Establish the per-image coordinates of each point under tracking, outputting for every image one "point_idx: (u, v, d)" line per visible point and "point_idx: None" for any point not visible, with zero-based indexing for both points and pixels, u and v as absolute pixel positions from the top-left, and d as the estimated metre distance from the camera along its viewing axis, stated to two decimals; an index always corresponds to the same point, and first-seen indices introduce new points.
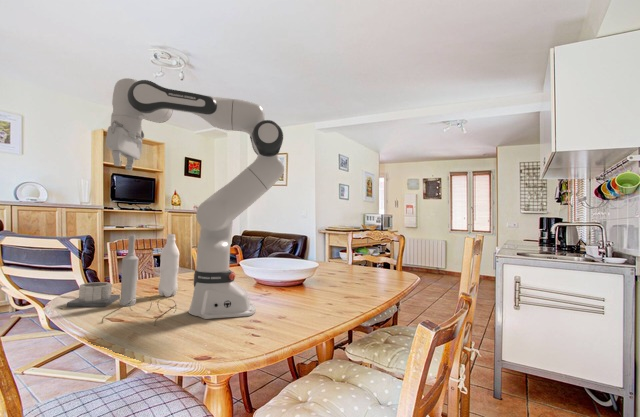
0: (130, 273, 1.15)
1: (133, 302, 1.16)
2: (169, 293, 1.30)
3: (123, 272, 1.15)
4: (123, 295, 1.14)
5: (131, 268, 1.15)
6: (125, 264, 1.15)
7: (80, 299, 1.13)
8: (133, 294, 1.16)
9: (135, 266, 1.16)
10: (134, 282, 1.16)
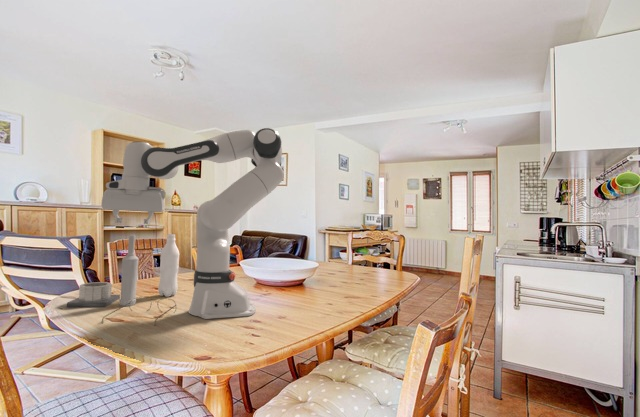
0: (130, 273, 1.15)
1: (133, 302, 1.16)
2: (169, 293, 1.30)
3: (123, 272, 1.15)
4: (123, 295, 1.14)
5: (131, 268, 1.15)
6: (125, 264, 1.15)
7: (80, 299, 1.13)
8: (133, 294, 1.16)
9: (135, 266, 1.16)
10: (134, 282, 1.16)
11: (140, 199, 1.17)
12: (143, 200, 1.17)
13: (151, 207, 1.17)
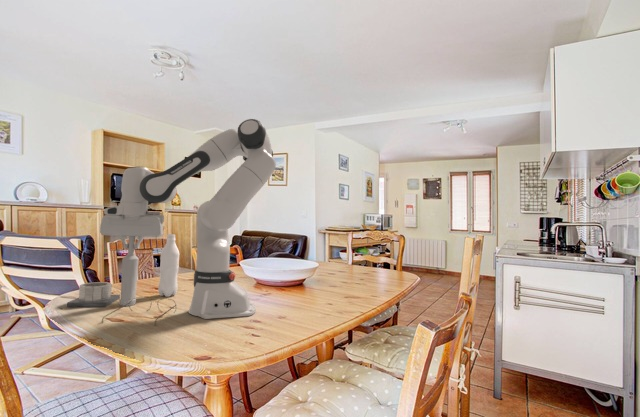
0: (130, 273, 1.15)
1: (133, 302, 1.16)
2: (169, 293, 1.30)
3: (123, 272, 1.15)
4: (123, 295, 1.14)
5: (131, 268, 1.15)
6: (125, 264, 1.15)
7: (80, 299, 1.13)
8: (133, 294, 1.16)
9: (135, 266, 1.16)
10: (134, 282, 1.16)
11: (138, 224, 1.17)
12: (141, 225, 1.17)
13: (149, 232, 1.17)
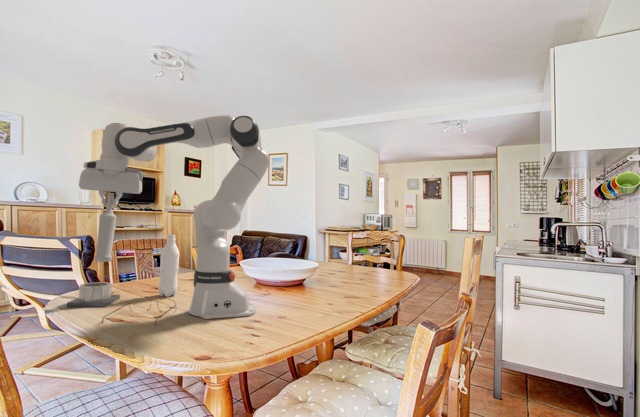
0: (106, 230, 1.16)
1: (108, 259, 1.17)
2: (169, 293, 1.30)
3: (100, 228, 1.16)
4: (99, 250, 1.16)
5: (108, 225, 1.17)
6: (101, 221, 1.16)
7: (80, 299, 1.13)
8: (109, 251, 1.17)
9: (112, 223, 1.18)
10: (110, 239, 1.18)
11: (117, 180, 1.19)
12: (120, 181, 1.19)
13: (128, 188, 1.19)
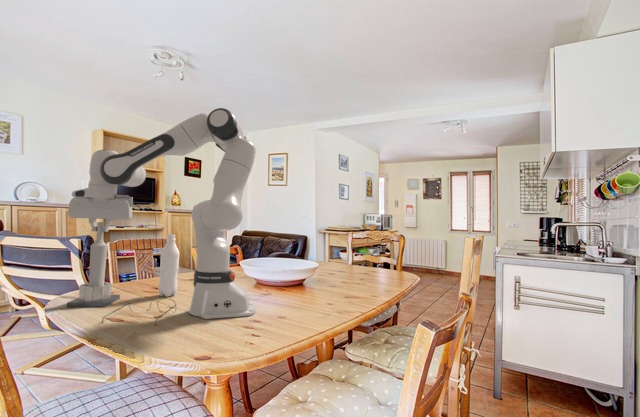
0: (98, 259, 1.16)
1: None
2: (169, 293, 1.30)
3: (91, 258, 1.16)
4: (91, 281, 1.15)
5: (99, 255, 1.16)
6: (92, 251, 1.16)
7: (80, 299, 1.13)
8: (101, 280, 1.17)
9: (103, 253, 1.17)
10: (102, 269, 1.17)
11: (107, 207, 1.18)
12: (110, 208, 1.18)
13: (118, 215, 1.18)
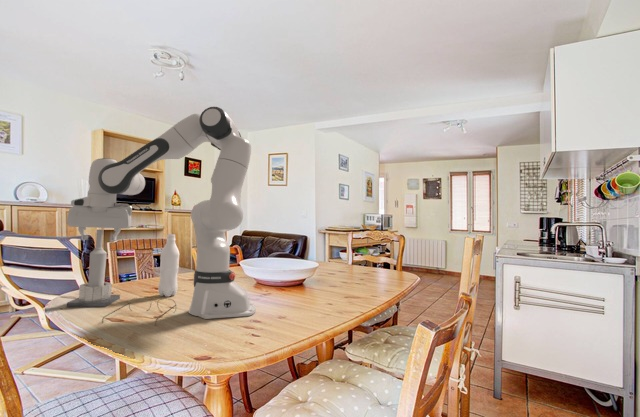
0: (97, 267, 1.16)
1: None
2: (169, 293, 1.30)
3: (90, 266, 1.16)
4: None
5: (98, 262, 1.16)
6: (92, 258, 1.15)
7: (80, 299, 1.13)
8: None
9: (102, 260, 1.17)
10: (101, 277, 1.17)
11: (106, 216, 1.17)
12: (109, 217, 1.18)
13: (117, 224, 1.18)
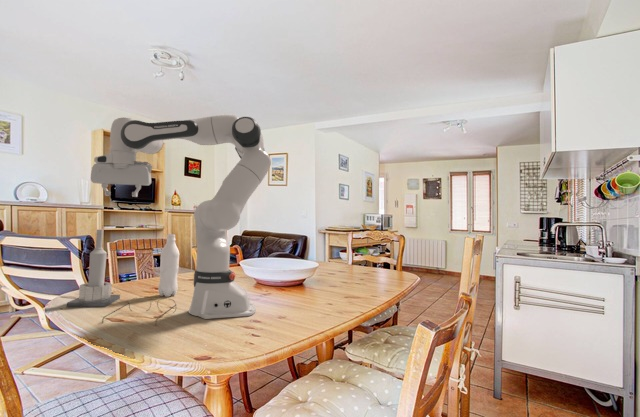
0: (97, 267, 1.16)
1: None
2: (169, 293, 1.30)
3: (90, 266, 1.16)
4: None
5: (98, 262, 1.16)
6: (92, 258, 1.15)
7: (80, 299, 1.13)
8: None
9: (102, 260, 1.17)
10: (101, 277, 1.17)
11: (127, 173, 1.23)
12: (130, 174, 1.23)
13: (138, 180, 1.24)
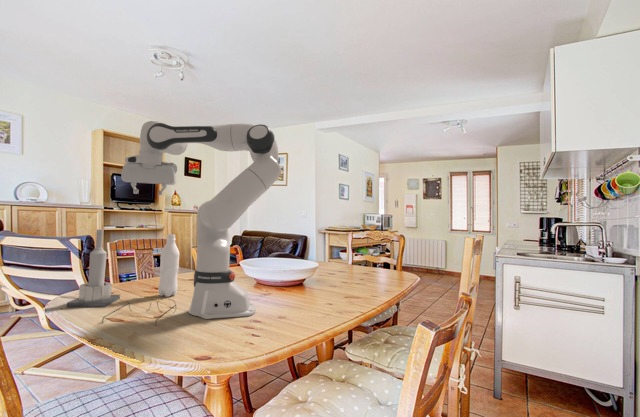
0: (97, 267, 1.16)
1: None
2: (169, 293, 1.30)
3: (90, 266, 1.16)
4: None
5: (98, 262, 1.16)
6: (92, 258, 1.15)
7: (80, 299, 1.13)
8: None
9: (102, 260, 1.17)
10: (101, 277, 1.17)
11: (155, 172, 1.32)
12: (157, 173, 1.32)
13: (164, 180, 1.33)
